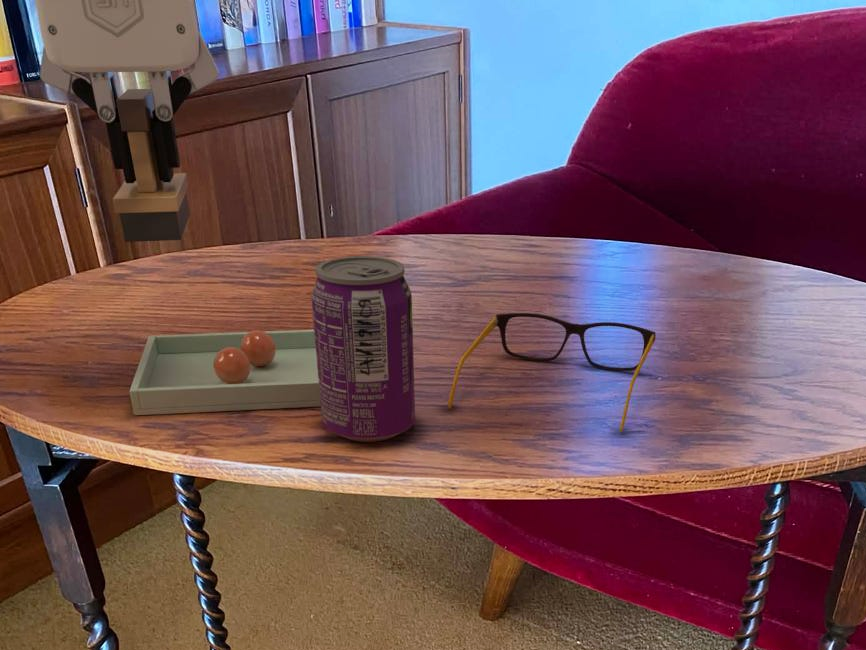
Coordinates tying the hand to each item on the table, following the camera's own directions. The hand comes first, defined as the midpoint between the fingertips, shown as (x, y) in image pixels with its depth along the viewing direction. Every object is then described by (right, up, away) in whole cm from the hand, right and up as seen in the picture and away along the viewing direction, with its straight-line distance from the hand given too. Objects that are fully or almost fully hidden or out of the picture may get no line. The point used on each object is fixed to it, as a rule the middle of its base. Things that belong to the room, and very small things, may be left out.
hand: (150, 177), depth 72 cm
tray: (+6, -12, +10) cm, 17 cm away
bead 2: (+6, -10, +11) cm, 15 cm away
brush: (0, -3, +2) cm, 4 cm away
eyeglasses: (+31, -14, +9) cm, 35 cm away
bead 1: (+4, -12, +7) cm, 15 cm away
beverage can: (+16, -18, +2) cm, 25 cm away
